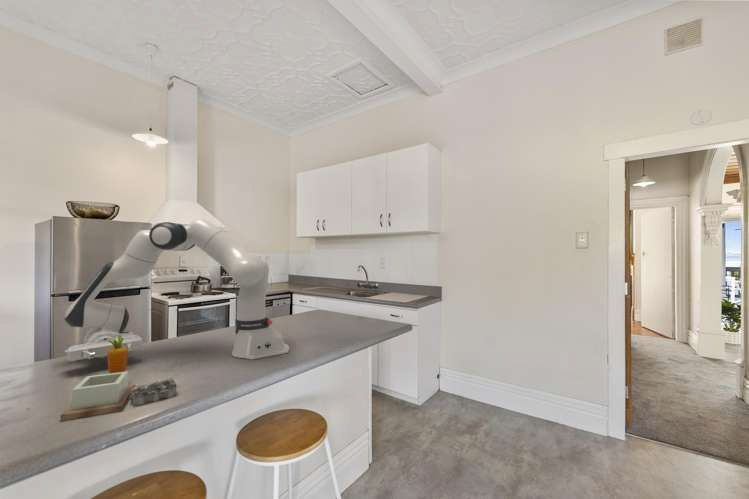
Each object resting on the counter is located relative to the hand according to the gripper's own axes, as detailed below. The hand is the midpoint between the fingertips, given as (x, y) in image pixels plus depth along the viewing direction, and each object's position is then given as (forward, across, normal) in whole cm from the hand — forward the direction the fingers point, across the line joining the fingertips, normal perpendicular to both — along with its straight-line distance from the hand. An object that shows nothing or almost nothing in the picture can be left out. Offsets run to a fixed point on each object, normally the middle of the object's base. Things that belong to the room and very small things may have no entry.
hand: (110, 352), depth 107 cm
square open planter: (+25, -5, +6) cm, 26 cm away
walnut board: (+25, -5, +7) cm, 27 cm away
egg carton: (+30, +6, +8) cm, 32 cm away
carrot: (+12, 0, +7) cm, 14 cm away
